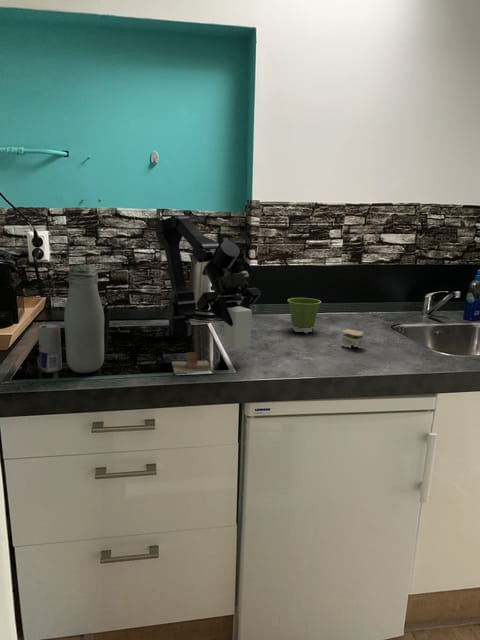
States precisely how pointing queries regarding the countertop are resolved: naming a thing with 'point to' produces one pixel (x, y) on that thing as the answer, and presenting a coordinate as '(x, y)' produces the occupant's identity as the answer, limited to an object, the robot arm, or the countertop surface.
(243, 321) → the tall pale rectangular prism
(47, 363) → the energy drink
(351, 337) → the stacked layers on plate
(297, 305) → the plant pot
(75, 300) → the glass bottle
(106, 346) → the cup
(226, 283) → the robot arm
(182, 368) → the beige board with block
